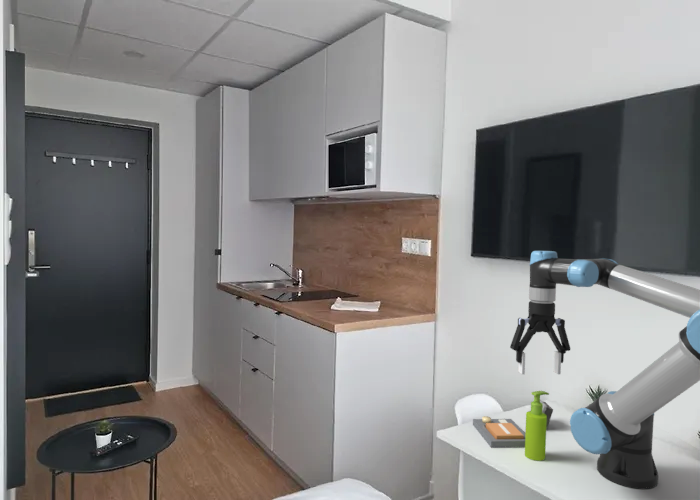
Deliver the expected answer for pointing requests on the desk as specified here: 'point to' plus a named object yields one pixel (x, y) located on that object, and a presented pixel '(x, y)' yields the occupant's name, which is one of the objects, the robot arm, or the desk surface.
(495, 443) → the grey tray
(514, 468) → the desk surface
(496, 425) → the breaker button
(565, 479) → the desk surface
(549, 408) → the electrical switch
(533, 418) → the soap dispenser
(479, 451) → the desk surface
